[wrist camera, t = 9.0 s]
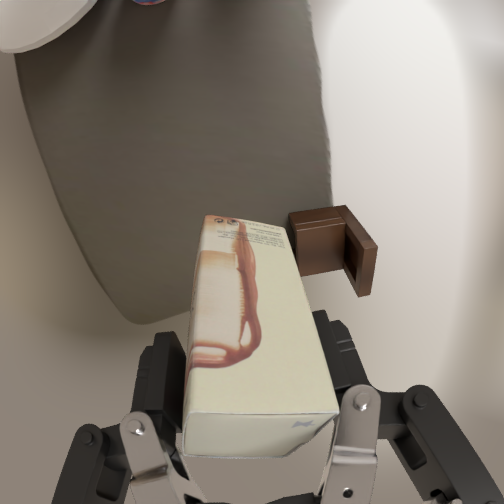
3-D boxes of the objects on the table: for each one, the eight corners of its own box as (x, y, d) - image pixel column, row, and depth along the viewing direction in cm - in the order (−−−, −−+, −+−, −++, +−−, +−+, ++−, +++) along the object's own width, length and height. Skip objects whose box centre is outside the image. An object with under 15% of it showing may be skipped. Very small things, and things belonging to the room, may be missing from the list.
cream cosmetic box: (202, 210, 14) (186, 407, 6) (286, 225, 15) (352, 406, 7) (189, 289, 17) (179, 459, 9) (261, 298, 18) (288, 459, 10)
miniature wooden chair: (288, 212, 33) (308, 258, 26) (345, 204, 33) (378, 246, 26) (292, 257, 37) (309, 307, 30) (343, 248, 37) (370, 294, 30)
